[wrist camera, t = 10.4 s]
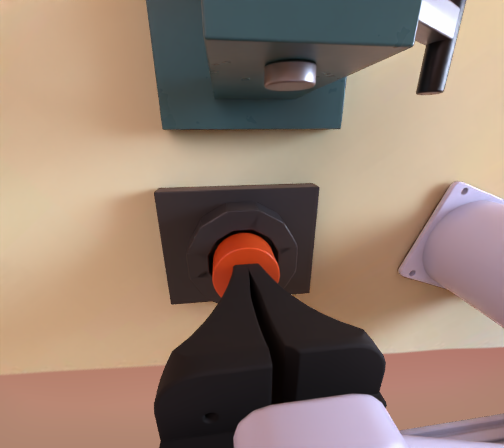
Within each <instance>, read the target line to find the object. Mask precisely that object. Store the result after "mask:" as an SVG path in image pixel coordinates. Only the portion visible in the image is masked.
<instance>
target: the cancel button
mask: <svg viewBox="0 0 504 448" xmlns="http://www.w3.org/2000/svg"><path fill="white" fill-rule="evenodd" d="M256 263H258V264H260V265H261V267H262V268H263V269H264V270H265V271H266V272H267V273H268V274H269V275H270V276H271V277H272V278H273V279H274V280H275V281H276V282H277V283H278V282H279V278H280V270H279V266H278V263H277V261H276V259H275V257H274V254H273V252H272V250H271V248H270V246H269V244H268V243H267V242H266V241H265V240H264V239H263V238H262V237H260V236H258V235H255V234H252V233H237V234H234V235H231V236H229V237H227V238H226V239H224V240H223V241H222V242H221V243H220V244H219V245H218V247H217V248H216V250H215V253H214V257H213V274H212V281H213V285H214V288H215V290H216V292H217V293H218V295H219V296H220V297H221V298H222V296H223V294H224V292H225V290H226V288H227V286H228V283H229V281H230V278H231V275H232V271H233V266H234V265H241V264H256Z"/></svg>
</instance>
